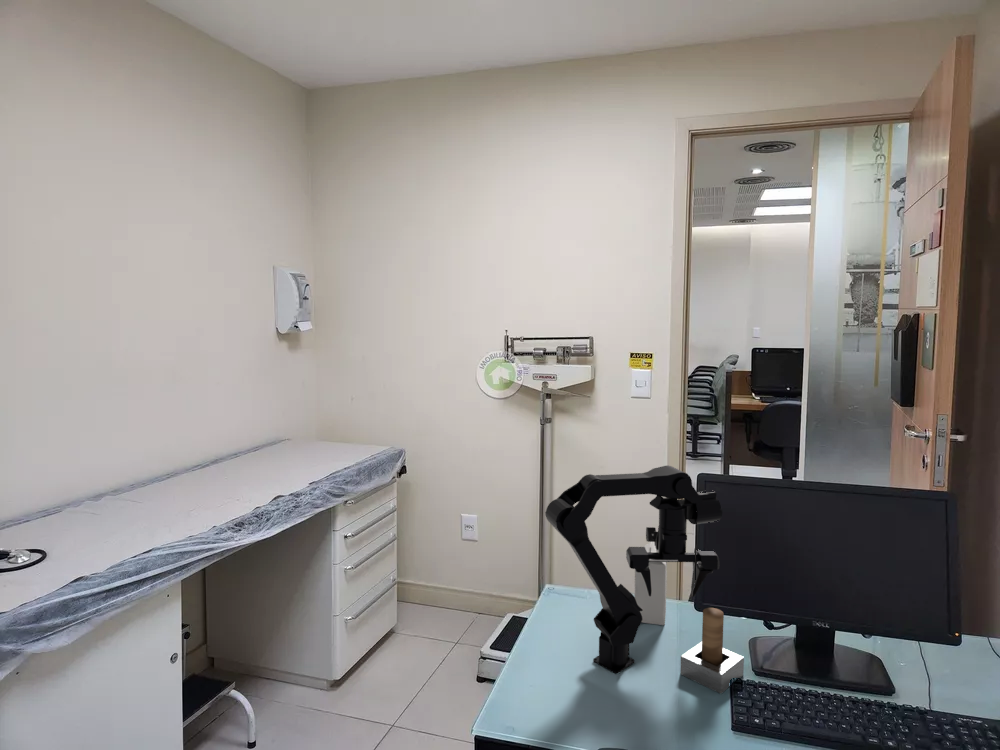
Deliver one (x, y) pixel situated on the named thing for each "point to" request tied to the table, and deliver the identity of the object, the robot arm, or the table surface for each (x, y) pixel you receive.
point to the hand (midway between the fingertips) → (671, 595)
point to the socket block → (711, 668)
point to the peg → (712, 636)
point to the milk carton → (656, 602)
